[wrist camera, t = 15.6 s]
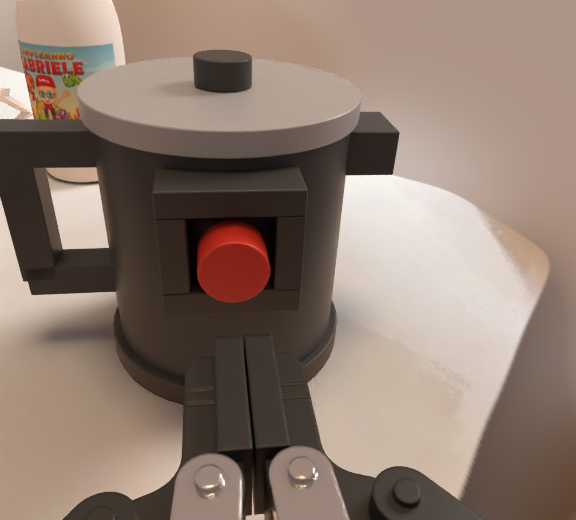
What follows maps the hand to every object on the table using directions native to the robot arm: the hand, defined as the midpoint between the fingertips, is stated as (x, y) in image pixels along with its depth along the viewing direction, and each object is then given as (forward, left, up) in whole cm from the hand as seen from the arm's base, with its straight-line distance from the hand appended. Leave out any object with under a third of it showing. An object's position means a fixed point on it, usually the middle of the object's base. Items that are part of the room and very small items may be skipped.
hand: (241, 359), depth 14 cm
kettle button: (0, -5, -1) cm, 5 cm away
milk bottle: (+14, -34, -9) cm, 38 cm away
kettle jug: (+2, -11, -9) cm, 15 cm away
